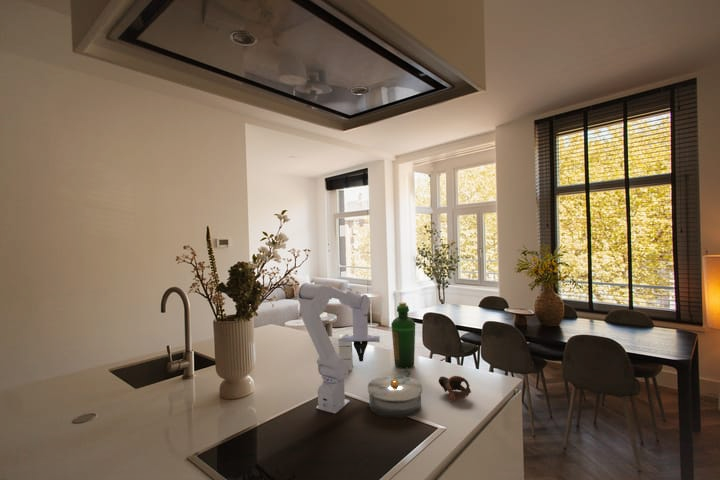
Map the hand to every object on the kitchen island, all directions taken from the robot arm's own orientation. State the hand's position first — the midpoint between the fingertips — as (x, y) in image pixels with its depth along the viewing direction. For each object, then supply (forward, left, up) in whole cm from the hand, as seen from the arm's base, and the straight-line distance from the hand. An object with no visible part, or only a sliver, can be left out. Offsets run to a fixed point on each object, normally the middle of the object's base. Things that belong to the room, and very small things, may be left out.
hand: (361, 360), depth 132 cm
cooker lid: (-4, -17, -5) cm, 18 cm away
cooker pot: (-4, -17, -10) cm, 20 cm away
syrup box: (+14, +16, -11) cm, 24 cm away
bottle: (+28, -6, -11) cm, 31 cm away
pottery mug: (+8, -33, -11) cm, 36 cm away
